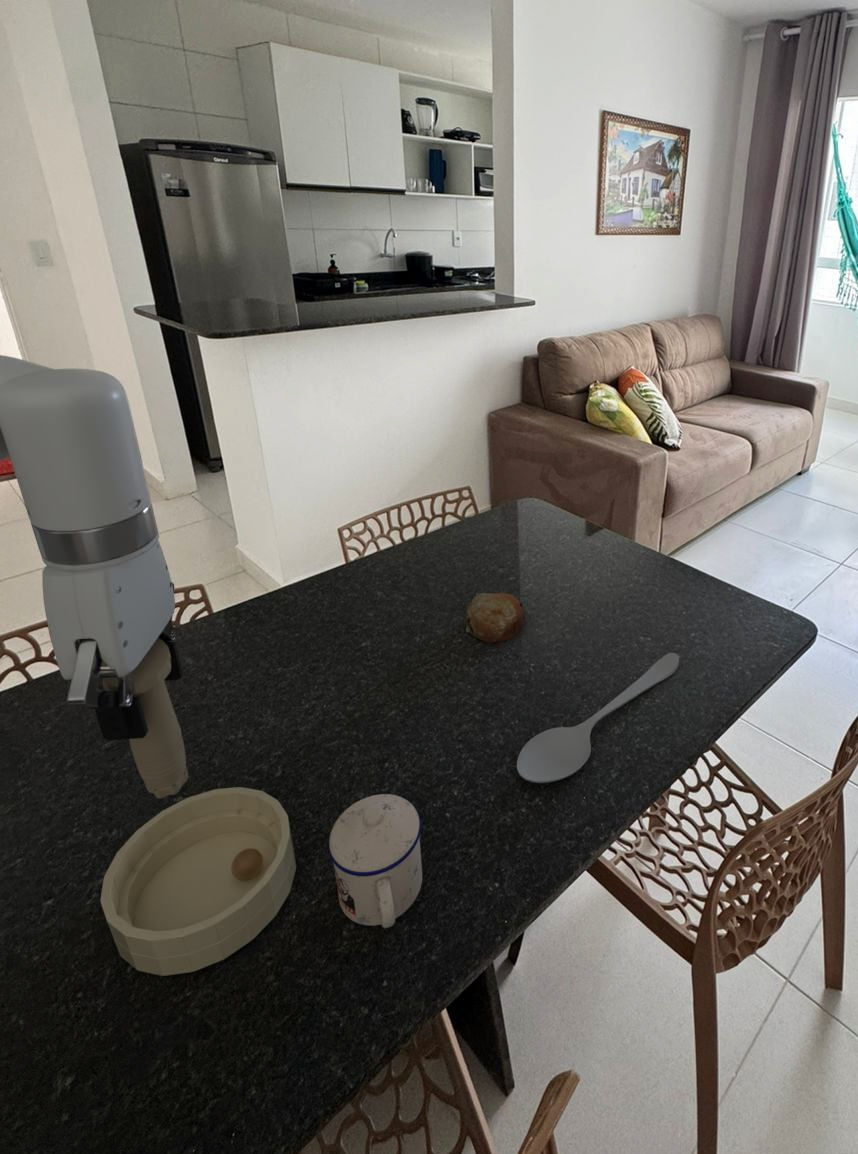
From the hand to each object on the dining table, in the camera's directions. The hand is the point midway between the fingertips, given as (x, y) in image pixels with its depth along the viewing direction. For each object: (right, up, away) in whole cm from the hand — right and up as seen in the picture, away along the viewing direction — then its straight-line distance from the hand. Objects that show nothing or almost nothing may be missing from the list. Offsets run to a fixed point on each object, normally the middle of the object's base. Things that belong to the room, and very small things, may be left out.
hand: (145, 704), depth 59 cm
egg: (+2, -21, +12) cm, 25 cm away
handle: (-1, -9, +4) cm, 10 cm away
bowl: (-1, -24, +11) cm, 26 cm away
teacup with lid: (+17, -25, +12) cm, 33 cm away
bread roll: (+22, -5, +56) cm, 61 cm away
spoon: (+42, -15, +38) cm, 58 cm away
